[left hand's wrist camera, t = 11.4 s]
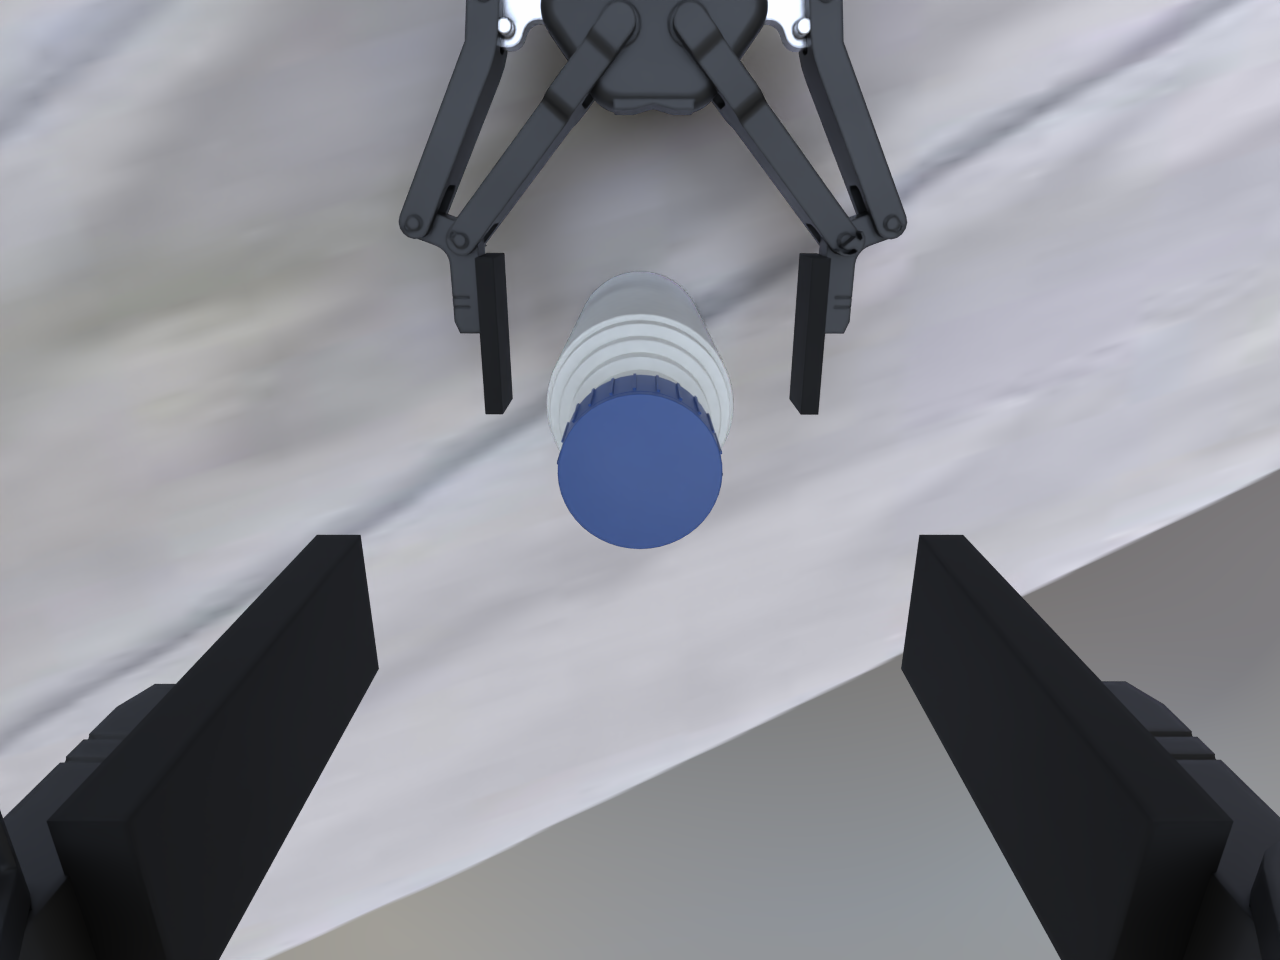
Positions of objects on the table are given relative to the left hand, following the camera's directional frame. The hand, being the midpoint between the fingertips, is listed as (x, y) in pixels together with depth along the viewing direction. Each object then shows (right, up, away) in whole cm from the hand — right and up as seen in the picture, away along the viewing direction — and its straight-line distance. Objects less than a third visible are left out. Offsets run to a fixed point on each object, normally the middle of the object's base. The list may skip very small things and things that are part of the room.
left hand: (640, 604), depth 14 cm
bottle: (0, +10, +26) cm, 28 cm away
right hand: (0, +5, +21) cm, 22 cm away
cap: (0, +2, +7) cm, 7 cm away
